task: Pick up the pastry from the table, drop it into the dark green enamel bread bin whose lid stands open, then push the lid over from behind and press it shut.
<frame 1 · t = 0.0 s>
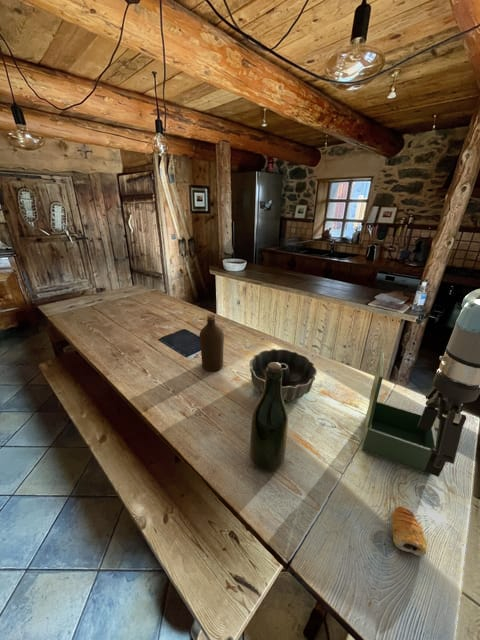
hand: (426, 448, 63), 17 cm above the table, tool pointing down, fingers open, 13 cm apart
bin lid: (375, 388, 80), point 18 cm above the table, hinge at 92.0°
pastry: (404, 534, 62), on the table
beer bottle: (266, 457, 79), on the table
bundt pan: (280, 386, 109), on the table
olive oil: (212, 366, 121), on the table
white cup: (434, 422, 93), on the table
bread bin: (393, 443, 84), on the table
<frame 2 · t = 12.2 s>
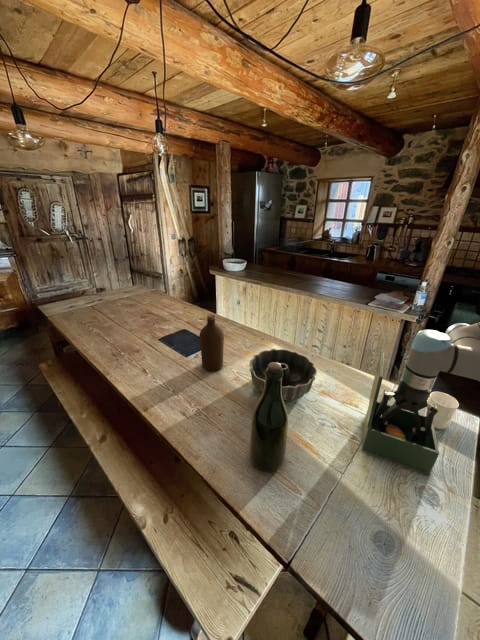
hand: (394, 441, 84), 1 cm above the table, tool pointing down, fingers closed on pastry, 7 cm apart
pastry: (392, 441, 84), point 1 cm above the table, touching bread bin, gripper
everything else where it was.
when the fingers open (2 cm above the table, at t = 12.9 s): pastry stays where it is, resting on bread bin.
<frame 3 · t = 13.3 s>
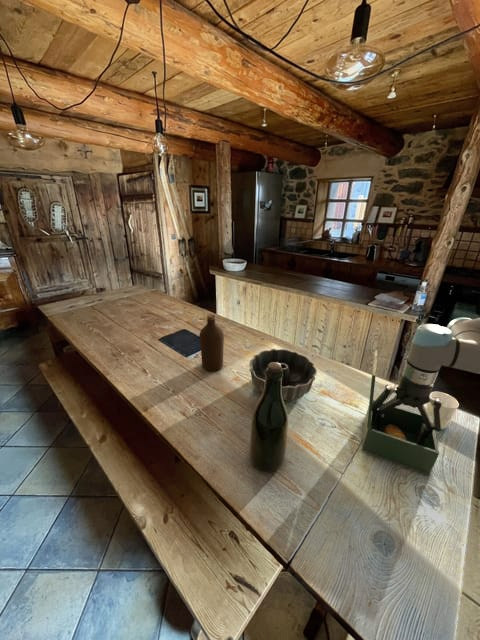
hand: (397, 435, 83), 4 cm above the table, tool pointing down, fingers open, 10 cm apart
bin lid: (372, 387, 80), point 18 cm above the table, hinge at 97.5°
pastry: (392, 441, 84), point 1 cm above the table, touching bread bin
everything else where it was.
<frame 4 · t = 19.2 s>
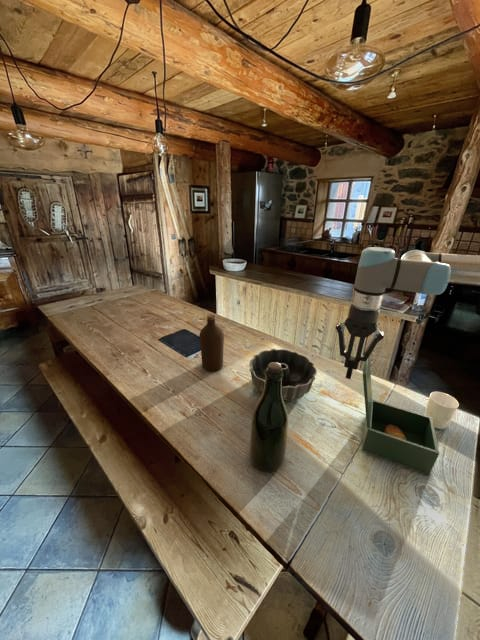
hand: (348, 376, 82), 20 cm above the table, tool pointing down, fingers closed
bin lid: (367, 387, 81), point 18 cm above the table, hinge at 104.8°, touching gripper
everything else where it was.
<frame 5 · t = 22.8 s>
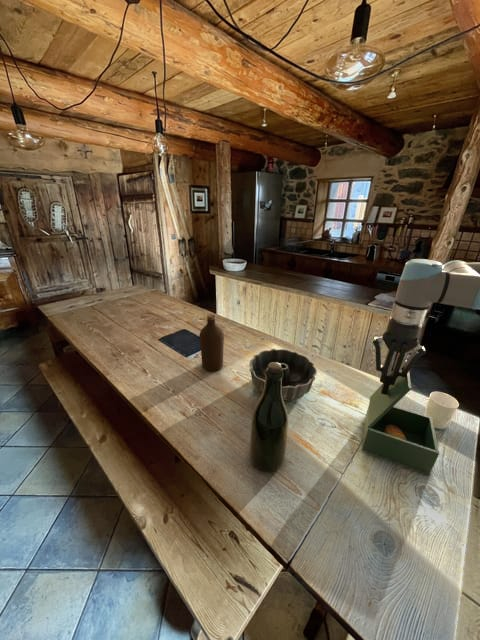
hand: (383, 391, 79), 18 cm above the table, tool pointing down, fingers closed
bin lid: (387, 393, 79), point 18 cm above the table, hinge at 70.0°, touching gripper
everything else where it was.
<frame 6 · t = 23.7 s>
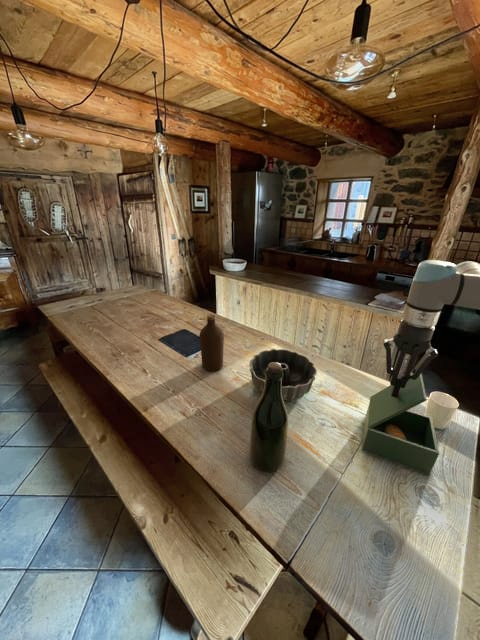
hand: (393, 394, 78), 18 cm above the table, tool pointing down, fingers closed
bin lid: (394, 398, 78), point 17 cm above the table, hinge at 56.1°, touching gripper
everything else where it was.
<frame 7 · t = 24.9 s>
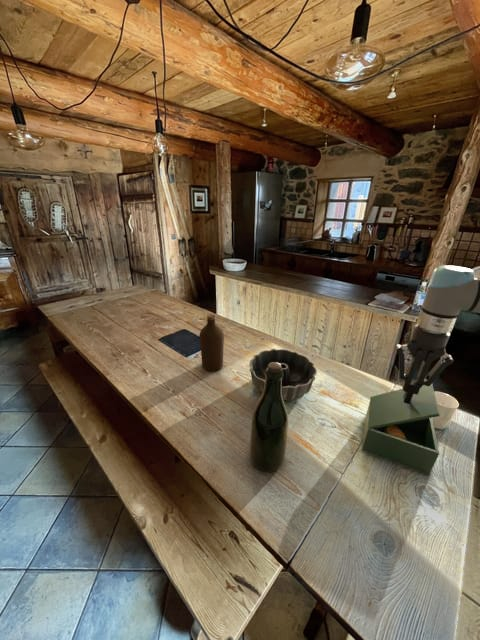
hand: (406, 400, 77), 17 cm above the table, tool pointing down, fingers closed
bin lid: (400, 405, 78), point 15 cm above the table, hinge at 39.9°, touching gripper
everything else where it was.
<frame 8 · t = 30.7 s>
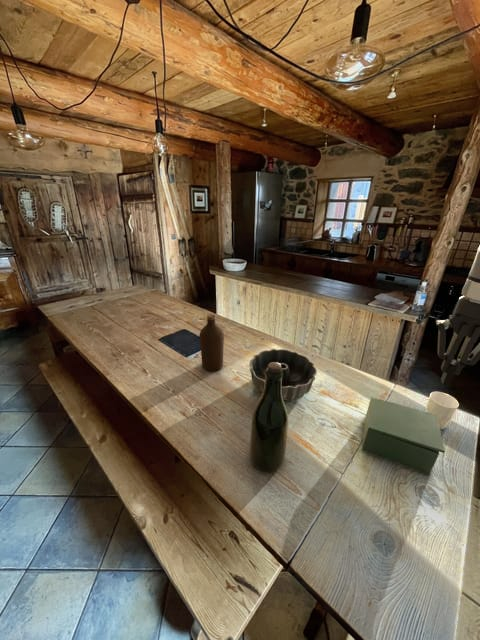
hand: (444, 382, 70), 26 cm above the table, tool pointing down, fingers closed
bin lid: (403, 421, 80), point 10 cm above the table, hinge at 1.9°
everything else where it was.
at the end: pastry inside the target area in the bread bin (0.3 cm from its centre), point 0.6 cm above the bread bin's base; bin lid at +2° (first picture: +92°) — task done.
